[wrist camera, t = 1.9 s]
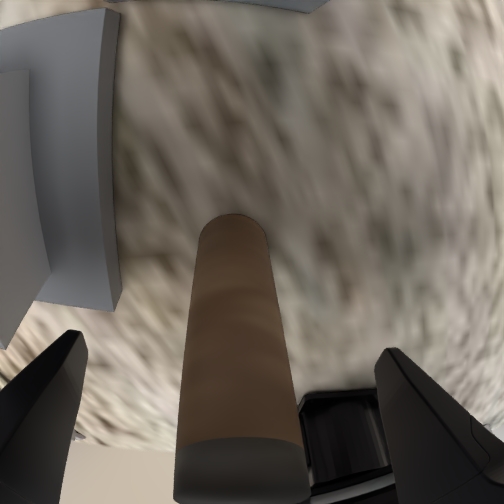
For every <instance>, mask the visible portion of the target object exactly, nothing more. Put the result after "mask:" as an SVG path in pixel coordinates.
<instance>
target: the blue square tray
mask: <svg viewBox="0 0 504 504" xmlns="http://www.w3.org/2000/svg"><path fill="white" fill-rule="evenodd" d="M104 1H107V2H109V3H112V2H123V1H136V0H104ZM216 1H229V2H239V3H249V4H257V5H264V6H271V7H277V8H283V9H289V10H294V11H299V12H304V13H310V12H312V11H313V10H315V9H317V8H318V7H320V6H322V5H323V4H325V3H326V2H328V1H330V0H216Z"/></svg>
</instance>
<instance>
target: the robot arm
mask: <svg viewBox="0 0 504 504" xmlns="http://www.w3.org/2000/svg"><path fill="white" fill-rule="evenodd" d="M87 360H88V349H87V346H86V342H85V339H84V336H83V333H82V332H81V331H77V330H71V329H70V330H67V331H66V332H65V333H64V334H62V335H61V336H60V337H59V338H58V339H57V340H55V341H54V342H53V343H52V344H51V345H50V346H49V347H47V348H46V349H45V350H44V351H43V352H42V353H41V354H40V355H38V356H37V357H36V358H35V359H34V360H33V361H32V362H31V363H30V364H28V365H27V366H26V367H25V368H24V369H23V370H22V371H21V372H20V373H19V374H18V375H16V376H15V377H14V378H13V379H12V380H11V381H10V382H9V383H8V384H7V385H6V386H5V387H4V388H3V389H1V390H0V504H59V500H60V494H61V488H62V482H63V477H64V471H65V466H66V461H67V456H68V451H69V446H70V443H71V438H72V434H73V430H74V426H75V421H76V417H77V414H78V410H79V406H80V401H81V396H82V389H83V383H84V377H85V371H86V365H87ZM374 372H375V379H376V386H377V389H372V390H362V391H350V392H335V393H316V394H308V395H306V396H304V398H303V399H302V401H301V403H300V405H299V408H298V416H299V422H300V428H301V434H302V439H303V445H304V451H305V457H306V463H307V470H308V476H309V482H310V488H311V496H310V497H309V498H307V499H306V500H304V501H302V502H299V503H297V504H504V442H502V441H501V440H500V439H498V438H497V437H496V436H495V435H494V434H492V433H491V432H490V431H489V430H487V429H486V428H485V427H484V426H483V425H482V424H481V423H480V422H479V421H477V420H476V419H475V418H474V417H473V416H472V415H470V413H469V412H468V411H467V410H466V409H465V408H463V407H462V406H461V405H460V404H459V403H458V402H457V401H456V400H455V399H454V398H453V397H452V396H450V395H449V394H448V393H447V392H446V391H445V390H444V389H443V388H442V387H441V386H440V385H438V384H437V383H436V382H435V381H434V380H433V379H432V378H431V377H430V376H429V375H427V374H426V373H425V372H424V371H423V370H422V369H421V368H420V367H419V366H418V365H416V364H415V363H414V362H413V361H412V360H411V359H410V358H409V357H408V356H406V355H405V354H404V353H403V352H402V351H401V350H400V349H398V348H396V347H393V348H386V349H384V351H383V352H382V354H381V356H380V357H379V359H378V361H377V362H376V364H375V368H374Z"/></svg>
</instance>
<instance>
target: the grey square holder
mask: <svg viewBox="0 0 504 504" xmlns="http://www.w3.org/2000/svg"><path fill="white" fill-rule="evenodd" d="M119 22H120V13H118V12H115V11H113V10H110V9H108V8H100V9H92V10H85V11H79V12H73V13H67V14H62V15H57V16H52V17H47V18H43V19H39V20H34V21H30V22H27V23H23V24H19V25H16V26H12V27H9V28H5V29H2V30H0V349H4V350H6V349H7V347H8V345H9V343H10V341H11V339H12V338H13V336H14V334H15V332H16V330H17V329H18V327H19V325H20V323H21V321H22V320H23V318H24V316H25V315H26V313H27V311H28V309H29V308H30V306H31V304H32V303H33V301H34V300H35V301H41V302H47V303H53V304H60V305H66V306H73V307H80V308H87V309H94V310H102V311H110V312H114V311H115V308H116V306H117V303H118V300H119V298H120V295H121V292H122V286H121V278H120V270H119V262H118V252H117V242H116V231H115V218H114V203H113V181H112V105H113V84H114V70H115V58H116V47H117V38H118V29H119Z"/></svg>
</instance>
